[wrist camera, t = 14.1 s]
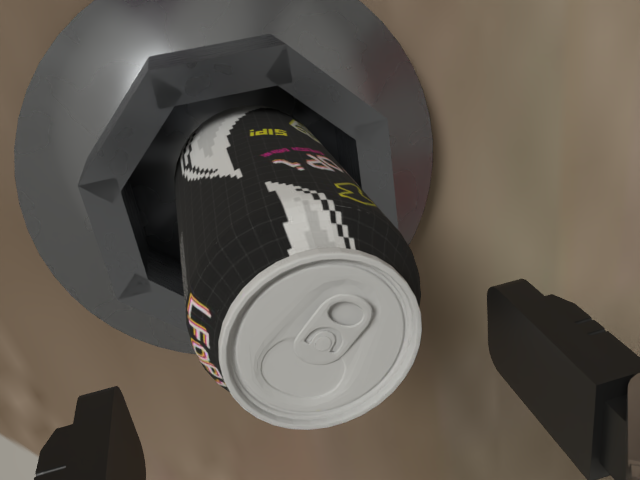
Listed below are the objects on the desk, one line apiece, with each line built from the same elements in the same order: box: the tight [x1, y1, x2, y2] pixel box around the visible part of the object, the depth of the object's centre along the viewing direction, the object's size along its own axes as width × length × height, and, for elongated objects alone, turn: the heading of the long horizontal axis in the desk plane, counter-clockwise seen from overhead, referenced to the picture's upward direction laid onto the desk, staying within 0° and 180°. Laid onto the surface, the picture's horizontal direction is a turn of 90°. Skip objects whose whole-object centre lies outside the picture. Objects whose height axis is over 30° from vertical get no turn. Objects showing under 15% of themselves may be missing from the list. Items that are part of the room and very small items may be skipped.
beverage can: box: [174, 105, 422, 430], centre depth 18 cm, size 6×6×12 cm
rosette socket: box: [14, 0, 433, 354], centre depth 23 cm, size 16×16×4 cm
